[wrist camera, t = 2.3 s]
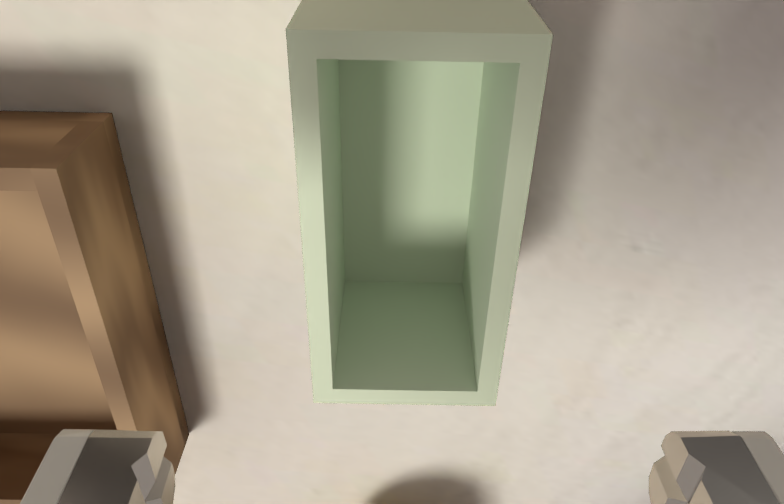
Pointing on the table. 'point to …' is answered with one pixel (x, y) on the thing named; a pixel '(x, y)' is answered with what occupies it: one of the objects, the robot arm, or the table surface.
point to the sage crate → (413, 190)
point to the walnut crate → (74, 296)
